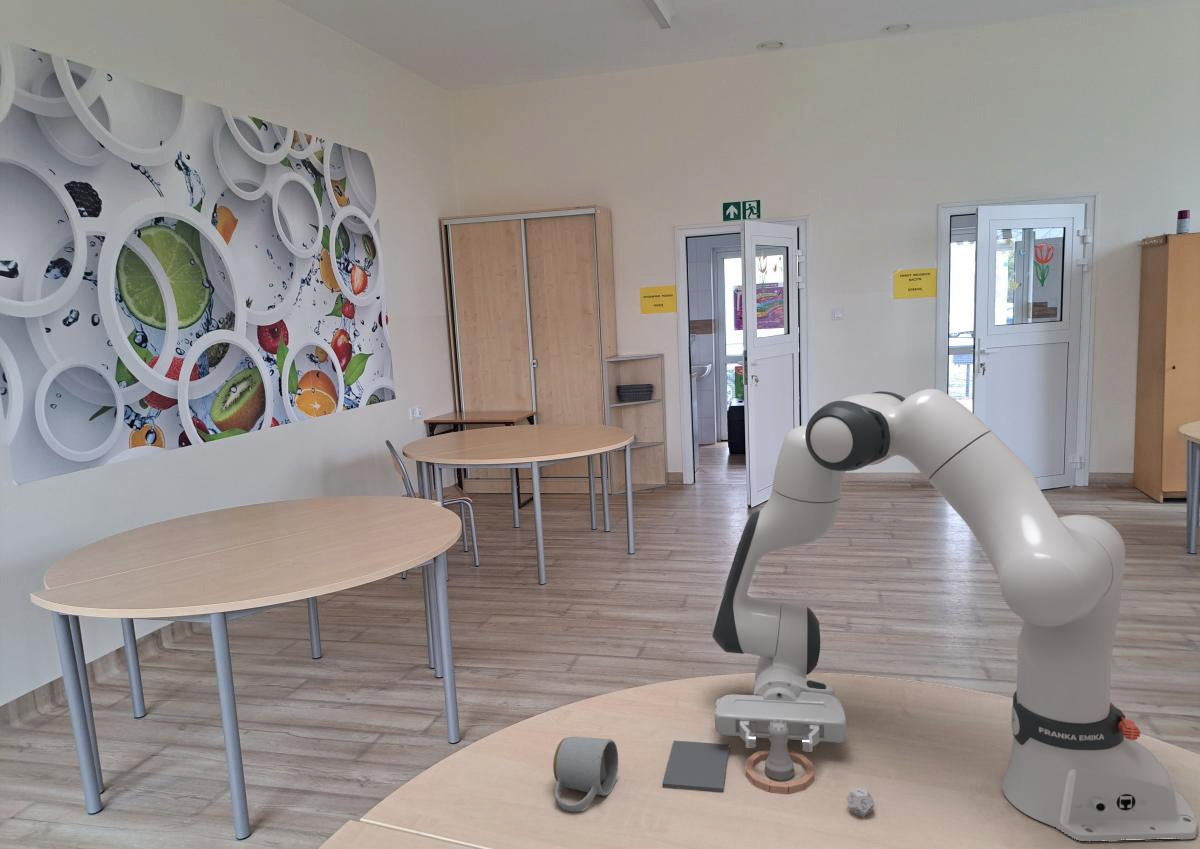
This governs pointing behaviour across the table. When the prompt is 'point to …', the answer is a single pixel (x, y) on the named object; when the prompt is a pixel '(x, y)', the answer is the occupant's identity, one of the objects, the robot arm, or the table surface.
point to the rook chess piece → (779, 753)
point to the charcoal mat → (697, 766)
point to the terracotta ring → (778, 786)
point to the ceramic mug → (585, 768)
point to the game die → (860, 802)
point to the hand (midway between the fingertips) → (778, 745)
